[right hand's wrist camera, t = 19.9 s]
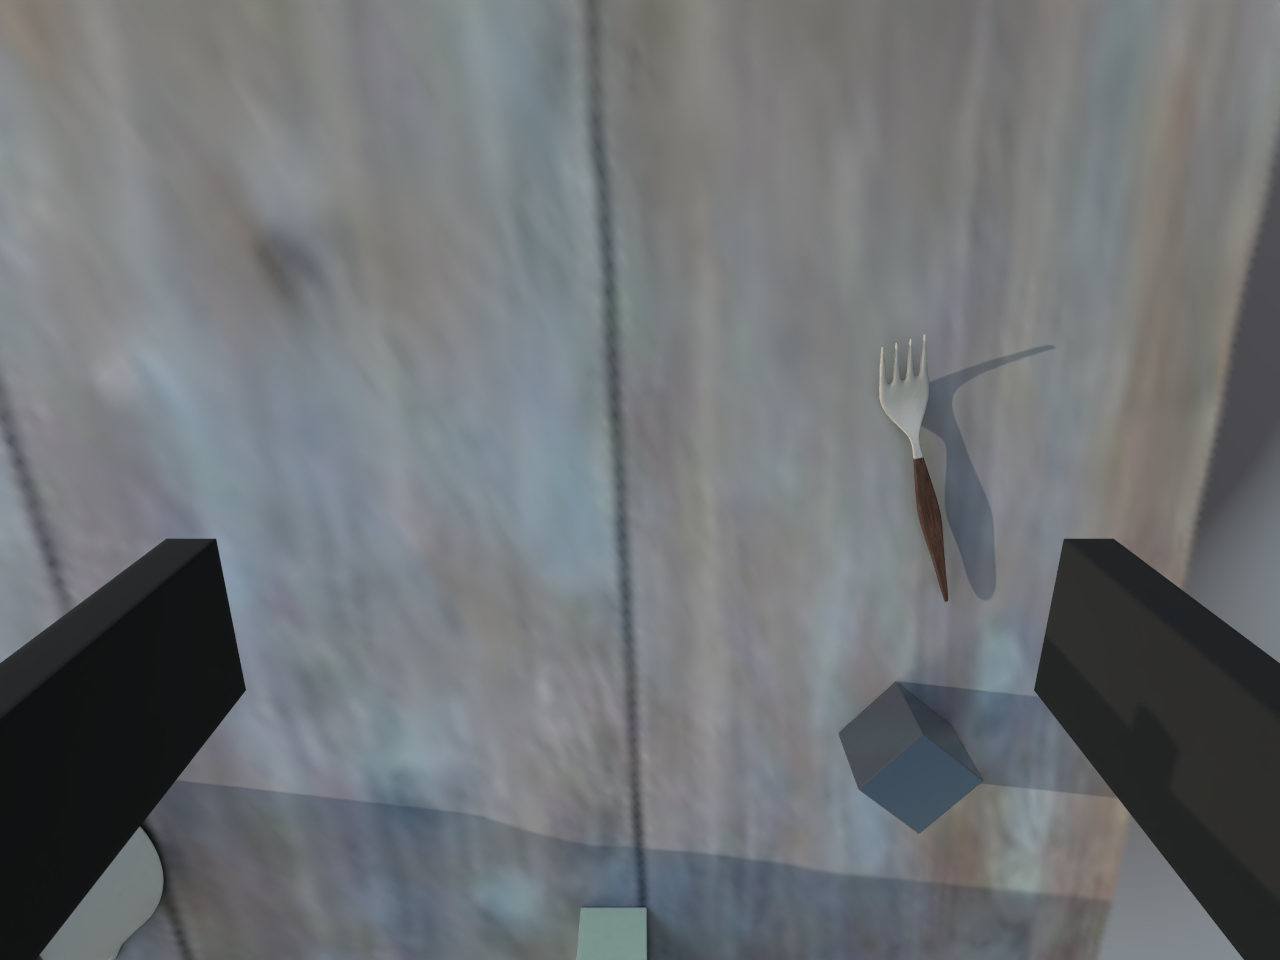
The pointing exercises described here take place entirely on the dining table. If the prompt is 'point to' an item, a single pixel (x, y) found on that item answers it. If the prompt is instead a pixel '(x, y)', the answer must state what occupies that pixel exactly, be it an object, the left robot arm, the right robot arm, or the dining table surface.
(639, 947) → the bar
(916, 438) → the fork
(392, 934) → the dining table surface
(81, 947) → the left robot arm
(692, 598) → the dining table surface
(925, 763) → the slate cube
